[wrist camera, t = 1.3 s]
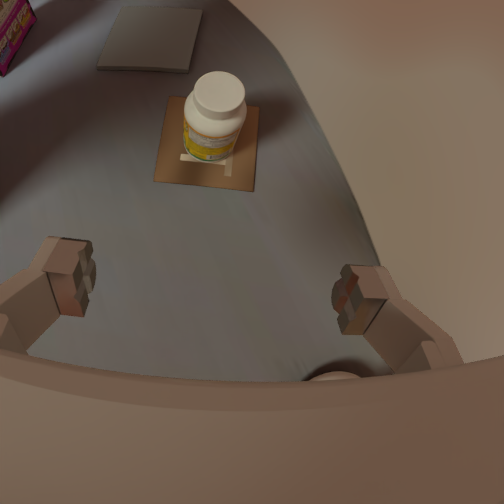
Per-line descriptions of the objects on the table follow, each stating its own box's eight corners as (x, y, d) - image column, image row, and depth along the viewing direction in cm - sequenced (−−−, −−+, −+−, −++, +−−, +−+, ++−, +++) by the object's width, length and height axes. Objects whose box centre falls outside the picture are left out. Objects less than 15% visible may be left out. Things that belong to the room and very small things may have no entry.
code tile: (153, 181, 31) (153, 180, 30) (169, 96, 32) (169, 95, 32) (252, 191, 33) (253, 191, 32) (259, 107, 34) (259, 107, 33)
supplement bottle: (219, 173, 32) (233, 132, 23) (173, 149, 31) (170, 101, 22) (243, 132, 33) (265, 83, 23) (199, 110, 32) (207, 55, 23)
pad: (97, 69, 30) (96, 66, 29) (122, 10, 31) (122, 6, 31) (187, 73, 32) (188, 69, 32) (202, 13, 33) (202, 9, 33)
